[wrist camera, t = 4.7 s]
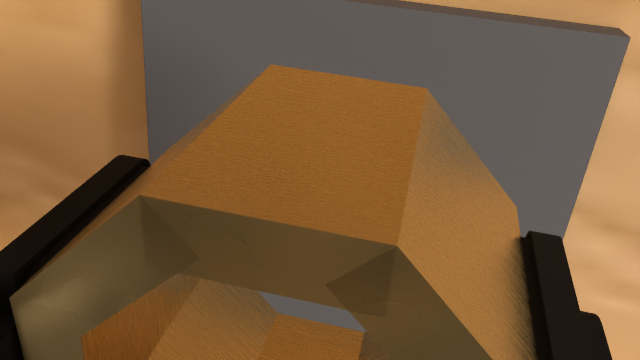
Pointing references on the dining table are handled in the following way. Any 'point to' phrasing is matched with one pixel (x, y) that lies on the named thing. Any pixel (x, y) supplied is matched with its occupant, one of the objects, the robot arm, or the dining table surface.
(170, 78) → the piston stand
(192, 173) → the brass ring
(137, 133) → the dining table surface
